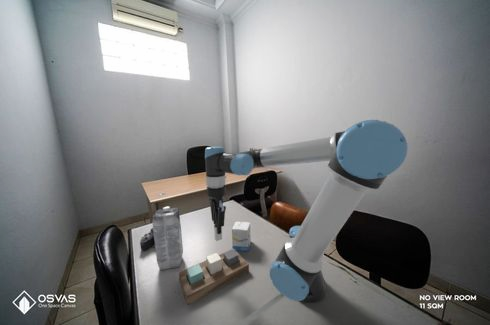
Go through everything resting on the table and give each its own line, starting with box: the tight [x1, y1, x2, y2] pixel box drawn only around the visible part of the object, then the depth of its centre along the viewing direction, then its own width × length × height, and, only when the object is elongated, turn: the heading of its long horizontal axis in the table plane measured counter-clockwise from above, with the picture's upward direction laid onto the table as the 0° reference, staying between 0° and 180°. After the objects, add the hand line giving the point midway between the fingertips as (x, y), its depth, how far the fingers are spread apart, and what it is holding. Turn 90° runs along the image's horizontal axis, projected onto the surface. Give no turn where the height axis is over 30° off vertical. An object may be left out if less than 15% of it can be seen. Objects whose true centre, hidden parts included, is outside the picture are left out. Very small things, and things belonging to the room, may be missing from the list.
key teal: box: [186, 263, 204, 286], centre depth 68 cm, size 5×5×5 cm
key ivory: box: [205, 252, 222, 276], centre depth 72 cm, size 5×5×5 cm
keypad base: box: [178, 248, 250, 305], centre depth 73 cm, size 13×26×4 cm, turn 123°
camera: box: [139, 227, 155, 253], centre depth 95 cm, size 16×8×10 cm, turn 158°
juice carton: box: [151, 206, 184, 271], centre depth 79 cm, size 9×10×27 cm
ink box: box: [231, 221, 252, 252], centre depth 91 cm, size 9×8×12 cm
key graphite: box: [223, 249, 239, 267], centre depth 77 cm, size 5×5×5 cm
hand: (218, 239), depth 73 cm, fingers closed
